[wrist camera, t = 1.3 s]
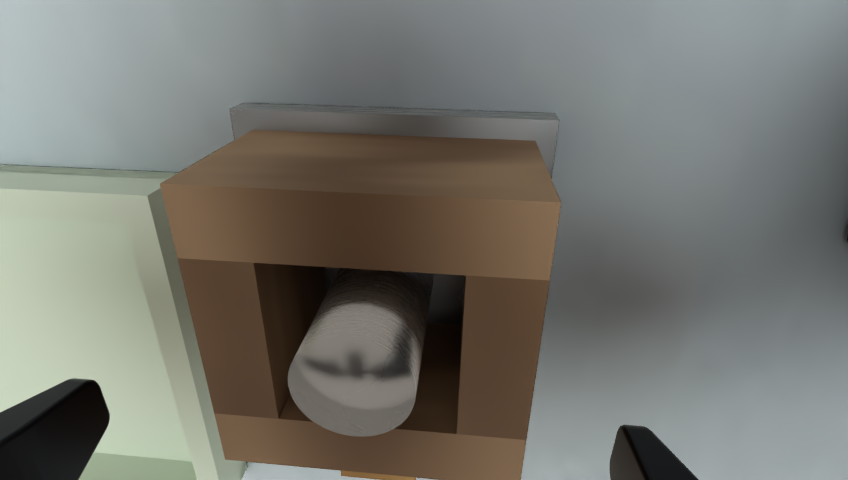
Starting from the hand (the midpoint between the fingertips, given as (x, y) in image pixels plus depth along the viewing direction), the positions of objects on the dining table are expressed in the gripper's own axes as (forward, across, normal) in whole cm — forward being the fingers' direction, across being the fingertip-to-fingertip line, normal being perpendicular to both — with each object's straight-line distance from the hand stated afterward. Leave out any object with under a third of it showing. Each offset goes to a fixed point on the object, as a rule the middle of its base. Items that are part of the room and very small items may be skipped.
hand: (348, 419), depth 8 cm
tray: (+6, +12, +4) cm, 14 cm away
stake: (+6, 0, 0) cm, 7 cm away
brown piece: (+6, 0, 0) cm, 6 cm away
